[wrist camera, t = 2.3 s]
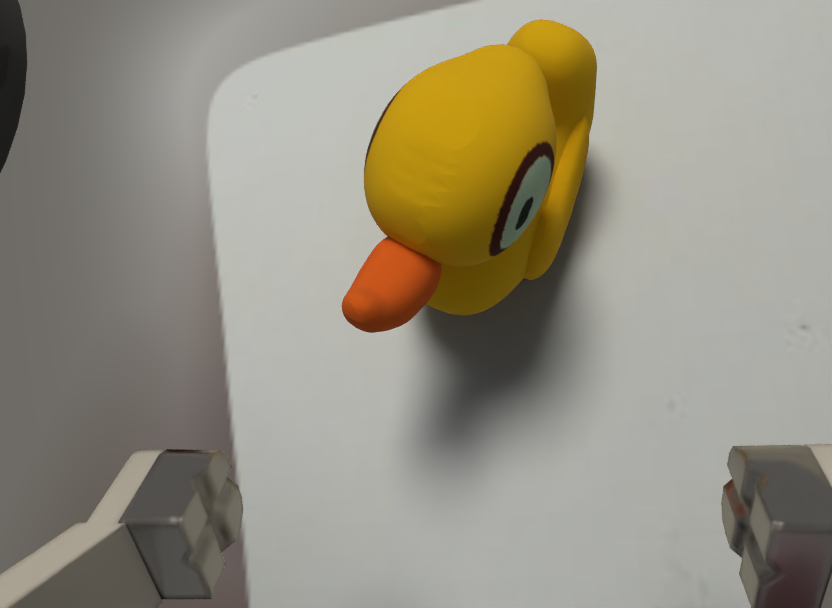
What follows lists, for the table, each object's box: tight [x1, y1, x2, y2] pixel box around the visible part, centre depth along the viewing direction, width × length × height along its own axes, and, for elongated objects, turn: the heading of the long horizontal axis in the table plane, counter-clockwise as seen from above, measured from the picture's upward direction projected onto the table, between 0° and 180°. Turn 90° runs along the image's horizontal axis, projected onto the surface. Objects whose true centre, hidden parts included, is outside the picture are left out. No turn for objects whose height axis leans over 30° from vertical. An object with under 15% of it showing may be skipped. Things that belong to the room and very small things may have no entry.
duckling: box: [342, 20, 597, 333], centre depth 20 cm, size 11×5×10 cm, turn 150°
